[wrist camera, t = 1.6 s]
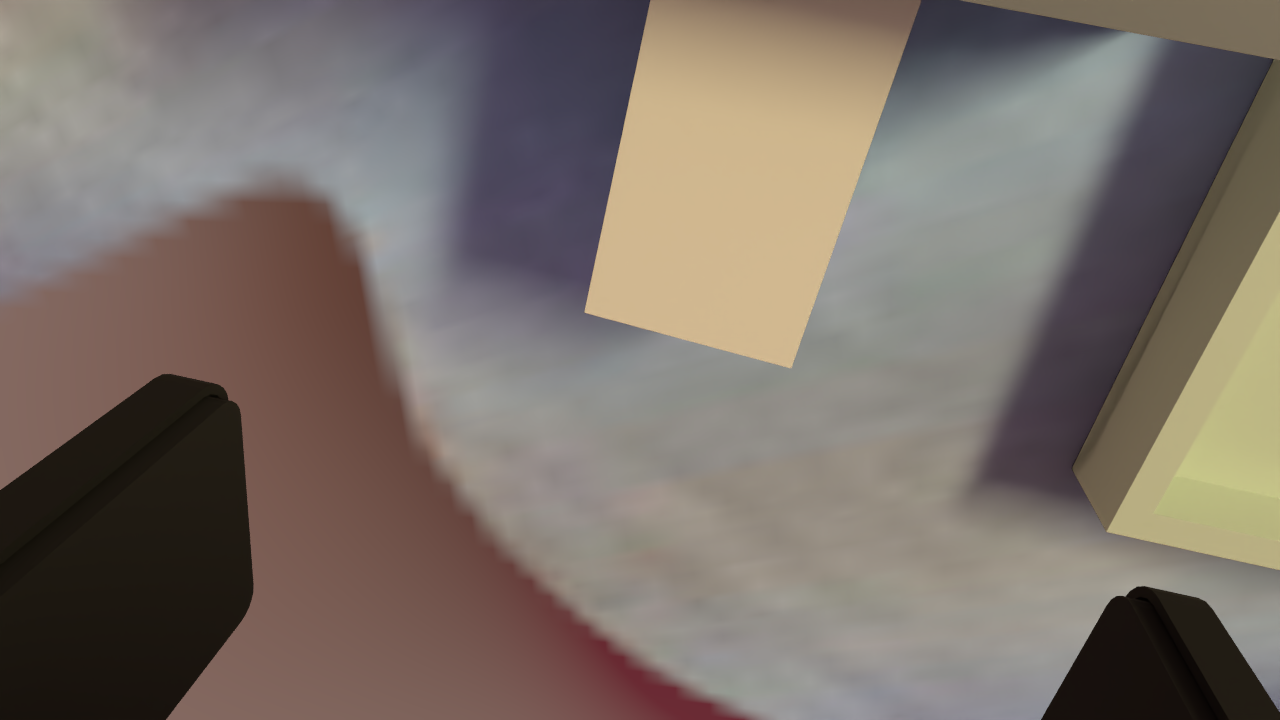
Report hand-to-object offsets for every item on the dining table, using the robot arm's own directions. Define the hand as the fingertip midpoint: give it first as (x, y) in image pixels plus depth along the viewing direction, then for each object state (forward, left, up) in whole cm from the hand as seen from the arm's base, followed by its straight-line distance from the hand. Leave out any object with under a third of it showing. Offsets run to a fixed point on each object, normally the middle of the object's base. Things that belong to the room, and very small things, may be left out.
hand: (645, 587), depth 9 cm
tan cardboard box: (+4, 0, -20) cm, 20 cm away
